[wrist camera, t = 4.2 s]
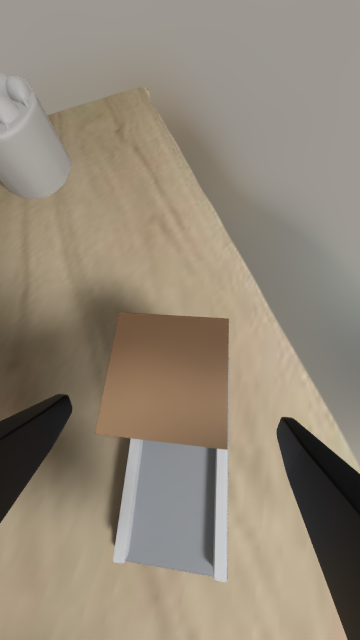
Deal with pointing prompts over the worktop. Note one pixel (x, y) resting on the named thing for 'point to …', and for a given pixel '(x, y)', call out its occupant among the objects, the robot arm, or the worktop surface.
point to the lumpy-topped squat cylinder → (28, 143)
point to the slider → (175, 508)
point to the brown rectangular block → (167, 380)
